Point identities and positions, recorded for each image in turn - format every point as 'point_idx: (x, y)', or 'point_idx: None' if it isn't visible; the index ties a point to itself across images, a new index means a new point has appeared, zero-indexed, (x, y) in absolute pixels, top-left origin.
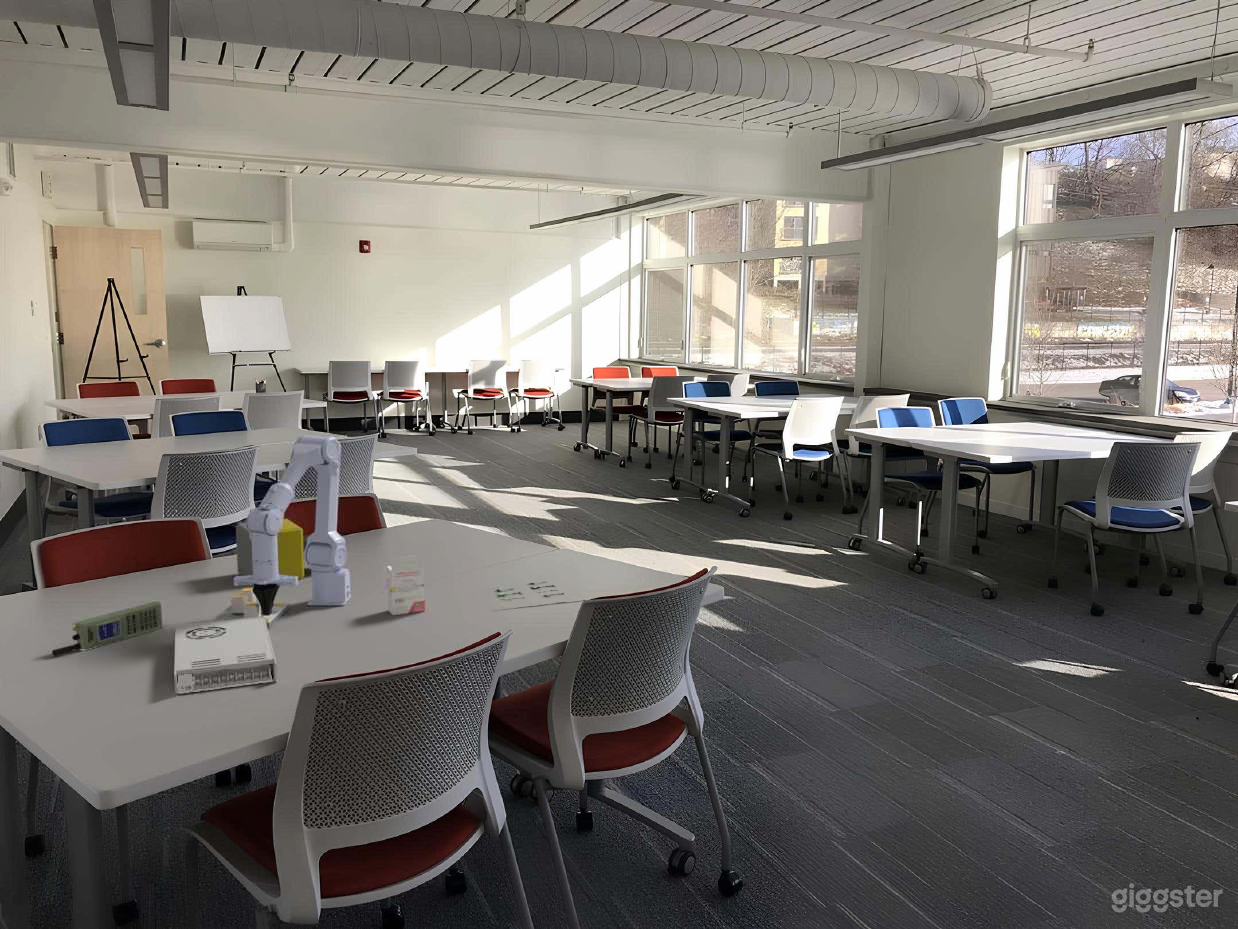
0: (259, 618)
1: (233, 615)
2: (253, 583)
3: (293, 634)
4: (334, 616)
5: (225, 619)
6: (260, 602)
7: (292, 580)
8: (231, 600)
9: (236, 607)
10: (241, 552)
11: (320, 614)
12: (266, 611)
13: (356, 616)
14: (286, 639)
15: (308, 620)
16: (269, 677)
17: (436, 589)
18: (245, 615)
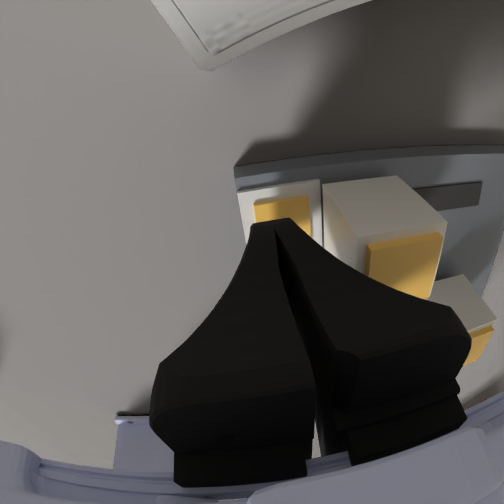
0: (215, 3)
1: (452, 265)
2: (480, 425)
3: (45, 109)
4: (64, 351)
5: (476, 210)
6: (330, 262)
7: (3, 496)
8: (493, 315)
9: (459, 296)
10: None
11: (123, 364)
12: (267, 232)
13: (12, 352)
14: (40, 26)
15: (114, 308)
16: None
17: (43, 456)
18: (404, 191)
